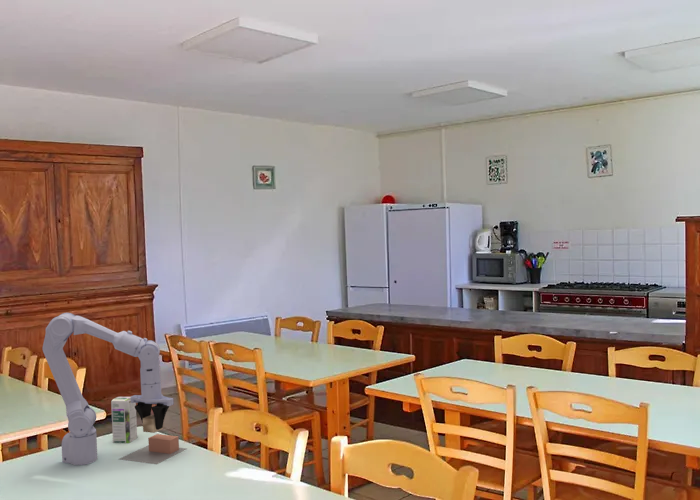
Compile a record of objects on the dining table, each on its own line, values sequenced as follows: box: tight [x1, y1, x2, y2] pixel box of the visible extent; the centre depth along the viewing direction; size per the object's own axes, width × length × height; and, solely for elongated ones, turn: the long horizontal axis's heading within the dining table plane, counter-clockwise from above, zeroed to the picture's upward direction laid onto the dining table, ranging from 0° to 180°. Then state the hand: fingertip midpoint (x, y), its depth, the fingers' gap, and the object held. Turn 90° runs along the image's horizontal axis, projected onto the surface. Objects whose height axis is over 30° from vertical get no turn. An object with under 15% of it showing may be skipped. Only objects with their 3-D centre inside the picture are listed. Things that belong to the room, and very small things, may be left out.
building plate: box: [119, 444, 187, 465], centre depth 196 cm, size 14×14×1 cm
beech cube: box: [142, 414, 164, 434], centre depth 196 cm, size 4×4×4 cm
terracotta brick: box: [147, 433, 180, 454], centre depth 198 cm, size 8×4×4 cm, turn 67°
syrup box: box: [110, 396, 138, 444], centre depth 210 cm, size 6×6×14 cm
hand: (153, 428), depth 196 cm, fingers closed on beech cube, 4 cm apart
